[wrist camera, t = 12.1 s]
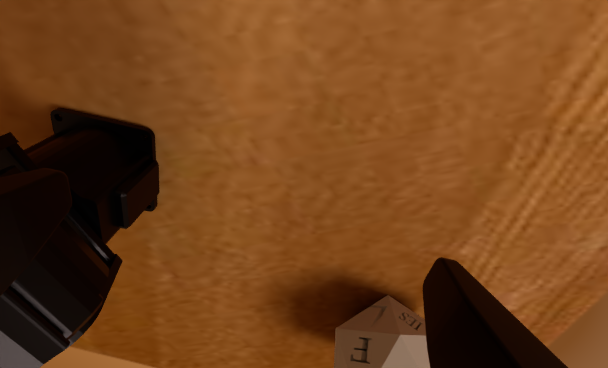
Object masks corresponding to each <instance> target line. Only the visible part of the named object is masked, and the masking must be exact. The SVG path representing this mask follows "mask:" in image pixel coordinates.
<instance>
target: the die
mask: <svg viewBox="0 0 608 368" xmlns="http://www.w3.org/2000/svg"><path fill="white" fill-rule="evenodd" d="M334 368H430V363H429V357H428V351H427V342H426V329H425V319H423V318H422V317H420V316H419V315H417V314H416V313H414V312H413V311H411V310H410V309H408V308H407V307H405V306H404V305H402V304H401V303H399V302H398V301H396V300H395V299H393V298H392V297H390V296H389V295H387V296H385V297H384V298H382V299H381V300H379V301H378V302H376V303H375V304H373V305H372V306H370V307H368V308H367V309H365V310H364V311H362V312H360V313H359V314H357V315H356V316H354V317H353V318H351V319H349V320H348V321H346V322H345V323H343V324H342V325H340V326H339V327H337V328H336V330H335V357H334Z"/></svg>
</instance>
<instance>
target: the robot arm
mask: <svg viewBox="0 0 608 368" xmlns="http://www.w3.org/2000/svg"><path fill="white" fill-rule="evenodd" d="M59 115H61V116H62V118H61V117H60V116H59ZM51 120H52V125H53V130H54V135H52V136H51V137H49V138H47V139H45V140H43V141H41V142H39V143H37V144H35V145H33V146H31V147H29V148H27V149H25V150H23V149H22V148H21V147H20V146H19V145H18V144H17V142H19V141H18V140H17V139H16V138H15V137H14V136H13V135H12V133H11V132H9V133H7V134H5V135H2V136H0V368H40V367H41V366H42V365H43V364H45V363H46V362H48V361H49V360H51V359H52V358H53V357H55V356H56V355H58V354H59V353H61V352H63V351H64V350H65V349H67V348H68V347H69V346H70V345H72V344H73V343H74V342H75V341H76V340H77V339H79V338H80V337H81V336H82V335H83V334H84V333H85V332H86V331H87V329H88V328H89V327H90V326H91V325H92V324H93V322H94V321H95V320H96V318H97V317H98V315H99V313H100V311H101V309H102V307H103V305H104V302H105V300H106V298H107V295H108V293H109V291H110V289H111V286H112V284H113V282H114V279H115V277H116V275H117V273H118V270H119V268H120V266H121V263H122V259H121V258H120V257H119V256H118V255H117V254H114V253H113V252H112V251H111V250H110V249H109V247H108V246H107V245H106V243H107V242H108V241H109V240H110V239H111V238H112V237H113V236H114V234H115V233H116V232H117V231H118V230H119V229H120V228H124V229H126V228H128V227H130V226H131V225H132V224H133V222H134V221H135V220H136V219H137V218H138V217H139V216H140V214H141V213H142V212H143V211H144V210H145V211H153V210H154V209H155V208H156V207H157V195H158V194H159V165H158V162H157V161H156V151H155V135H154V133H153V131H152V130H151V129H149V128H145V127H141V126H137V125H132V124H128V123H124V122H119V121H115V120H111V119H106V118H102V117H98V116H93V115H89V114H85V113H80V112H76V111H72V110H67V109H63V108H58V109H55V110H53V111H52V112H51ZM144 134H146V135H147V136H148V139H147V138H145V136H144ZM149 204H150V205H149ZM423 301H424V315H425V329H426V342H427V351H428V357H429V363H430V368H568V367H567V366H566V365H565V364H564V363H562V361H561V360H560V359H558V358H557V357H556V356H555V355H554V354H553V353H552V352H551V351H550V350H549V349H548V348H547V347H546V346H545V345H544V344H543V343H542V342H541V341H540V340H539V339H538V338H537V337H536V336H534V335H533V334H532V333H531V332H530V331H529V330H528V329H527V328H526V327H525V326H524V325H523V324H522V323H521V322H520V321H519V320H518V319H517V318H516V317H515V316H514V315H513V314H512V313H511V312H509V311H508V310H507V309H506V308H505V307H504V306H503V305H502V304H501V303H500V302H499V301H498V300H497V299H496V298H495V297H494V296H493V295H492V294H491V293H490V292H489V291H488V290H487V289H486V288H484V287H483V286H482V285H481V284H480V283H479V282H478V281H477V280H476V279H475V278H474V277H473V276H472V275H471V274H470V273H469V272H468V271H467V270H466V269H465V268H464V267H463V266H462V265H460V264H459V263H458V262H457V261H455V260H451V259H447V258H442V257H441V258H438V259H437V260H436V261H435V263H434V264H433V266H432V268H431V269H430V271H429V273H428V275H427V276H426V278H425V280H424V283H423Z"/></svg>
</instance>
